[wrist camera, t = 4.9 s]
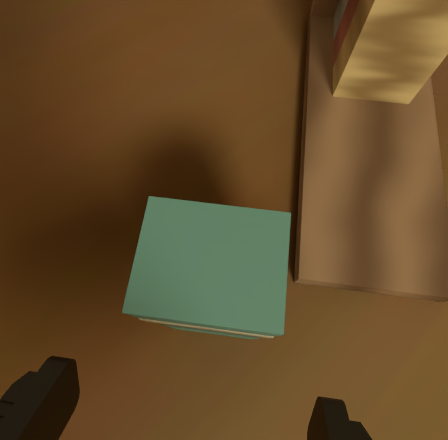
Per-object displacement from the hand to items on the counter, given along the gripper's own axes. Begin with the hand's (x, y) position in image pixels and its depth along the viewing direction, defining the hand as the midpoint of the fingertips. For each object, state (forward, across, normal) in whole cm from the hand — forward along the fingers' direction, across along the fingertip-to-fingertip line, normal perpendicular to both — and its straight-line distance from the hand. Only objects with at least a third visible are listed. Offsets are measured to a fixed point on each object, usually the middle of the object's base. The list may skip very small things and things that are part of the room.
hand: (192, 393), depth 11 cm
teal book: (+10, 0, +4) cm, 11 cm away
